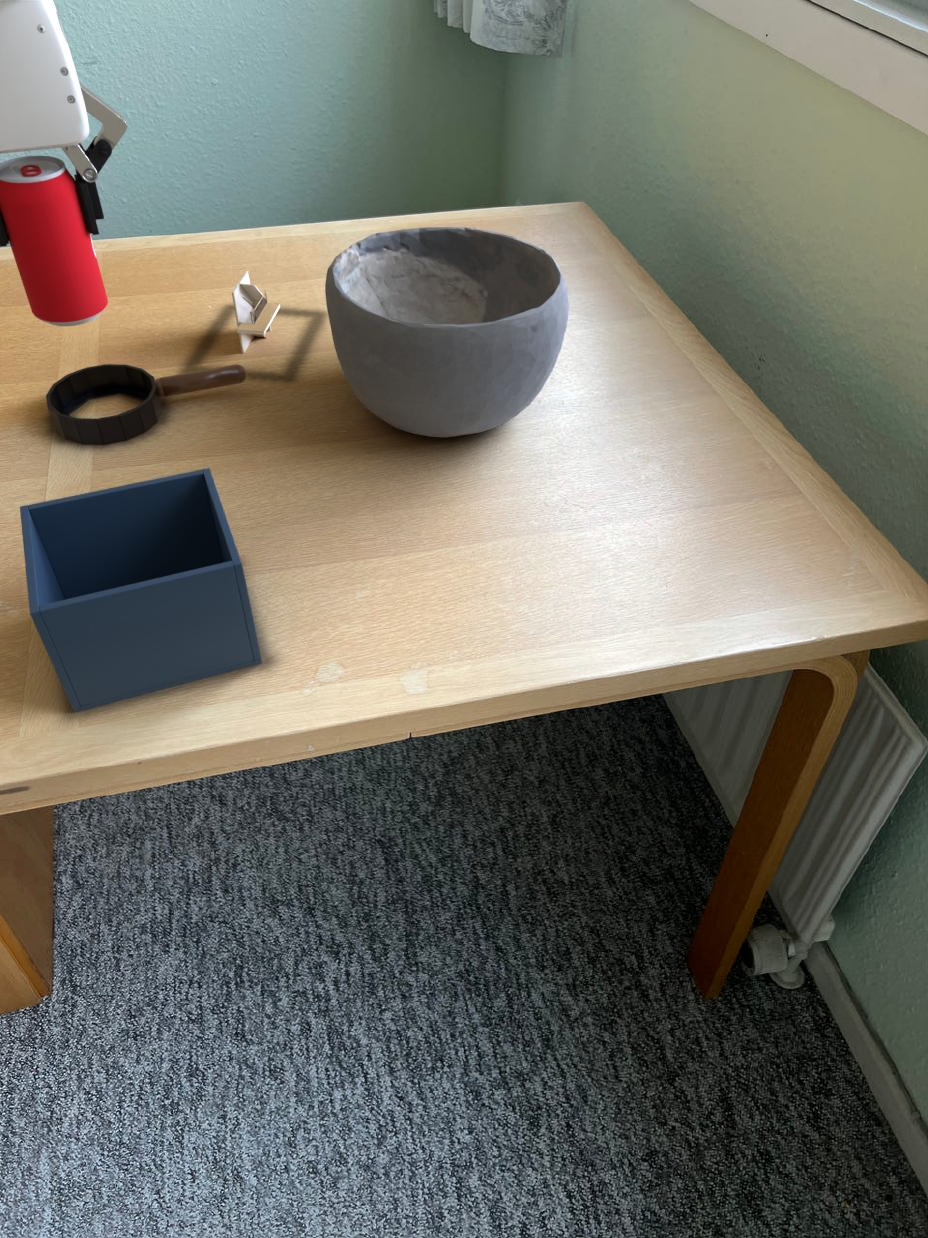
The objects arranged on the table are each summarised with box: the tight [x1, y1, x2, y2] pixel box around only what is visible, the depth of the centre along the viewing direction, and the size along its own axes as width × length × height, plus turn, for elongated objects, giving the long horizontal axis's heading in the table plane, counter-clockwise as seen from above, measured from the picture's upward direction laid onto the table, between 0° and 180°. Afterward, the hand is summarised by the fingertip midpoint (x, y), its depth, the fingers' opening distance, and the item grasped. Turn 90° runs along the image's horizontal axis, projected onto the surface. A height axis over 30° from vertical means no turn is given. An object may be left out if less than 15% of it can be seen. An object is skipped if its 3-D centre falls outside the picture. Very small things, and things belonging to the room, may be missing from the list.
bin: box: [19, 467, 263, 714], centre depth 71 cm, size 14×12×11 cm
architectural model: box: [231, 270, 281, 354], centre depth 105 cm, size 3×7×7 cm, turn 173°
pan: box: [45, 363, 248, 446], centre depth 97 cm, size 20×11×3 cm, turn 112°
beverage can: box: [0, 155, 109, 327], centre depth 75 cm, size 6×6×12 cm
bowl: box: [324, 226, 570, 438], centre depth 94 cm, size 24×24×15 cm
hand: (48, 232), depth 74 cm, fingers closed on beverage can, 6 cm apart
